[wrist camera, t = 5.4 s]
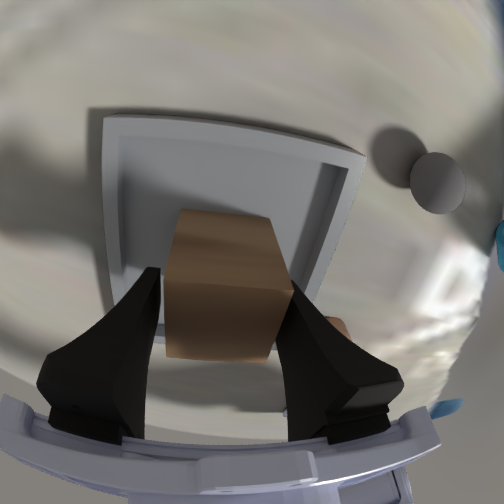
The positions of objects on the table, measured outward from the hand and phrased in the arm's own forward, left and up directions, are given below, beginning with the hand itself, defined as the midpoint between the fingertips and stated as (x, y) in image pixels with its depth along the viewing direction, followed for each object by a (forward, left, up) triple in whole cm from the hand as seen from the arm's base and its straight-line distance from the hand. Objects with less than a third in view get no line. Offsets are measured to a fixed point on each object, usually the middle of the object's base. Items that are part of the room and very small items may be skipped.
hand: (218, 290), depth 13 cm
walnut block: (0, 0, -3) cm, 3 cm away
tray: (0, 0, -3) cm, 3 cm away
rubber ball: (+7, -11, -3) cm, 13 cm away
